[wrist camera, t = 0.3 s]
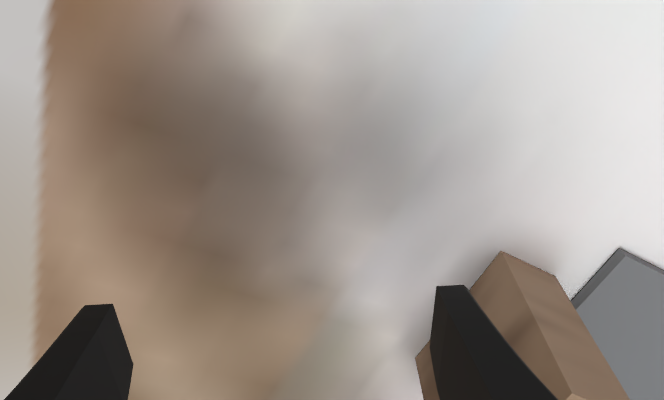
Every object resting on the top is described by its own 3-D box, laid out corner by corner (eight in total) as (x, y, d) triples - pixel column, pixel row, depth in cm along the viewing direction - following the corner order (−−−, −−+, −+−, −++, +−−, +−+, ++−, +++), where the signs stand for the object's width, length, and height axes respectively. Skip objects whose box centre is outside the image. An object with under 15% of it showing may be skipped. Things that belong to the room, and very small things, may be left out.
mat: (596, 469, 32) (600, 479, 32) (463, 419, 30) (465, 429, 30) (763, 321, 27) (772, 329, 27) (619, 248, 25) (625, 256, 25)
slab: (466, 378, 29) (514, 538, 22) (415, 357, 28) (448, 516, 21) (555, 276, 26) (643, 422, 19) (500, 250, 25) (571, 393, 18)
